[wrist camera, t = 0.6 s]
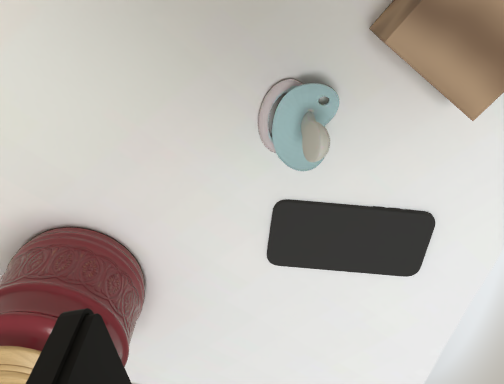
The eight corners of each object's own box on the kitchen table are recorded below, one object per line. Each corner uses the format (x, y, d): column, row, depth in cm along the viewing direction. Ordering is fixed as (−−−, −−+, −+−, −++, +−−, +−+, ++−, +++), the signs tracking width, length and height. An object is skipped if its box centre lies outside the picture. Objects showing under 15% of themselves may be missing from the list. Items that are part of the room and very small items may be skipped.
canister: (-2, 293, 49) (-119, 465, 33) (41, 200, 43) (-76, 355, 28) (116, 341, 52) (59, 517, 37) (170, 260, 46) (129, 428, 31)
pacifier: (251, 150, 41) (320, 162, 41) (249, 185, 35) (327, 198, 36) (267, 66, 37) (342, 79, 38) (267, 90, 32) (354, 106, 32)
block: (462, -81, 32) (494, -82, 28) (542, 5, 35) (583, 17, 31) (368, 27, 36) (384, 42, 31) (448, 98, 39) (472, 121, 34)
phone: (274, 199, 43) (439, 214, 43) (274, 195, 43) (436, 209, 44) (265, 265, 46) (417, 278, 47) (265, 260, 47) (414, 272, 47)
